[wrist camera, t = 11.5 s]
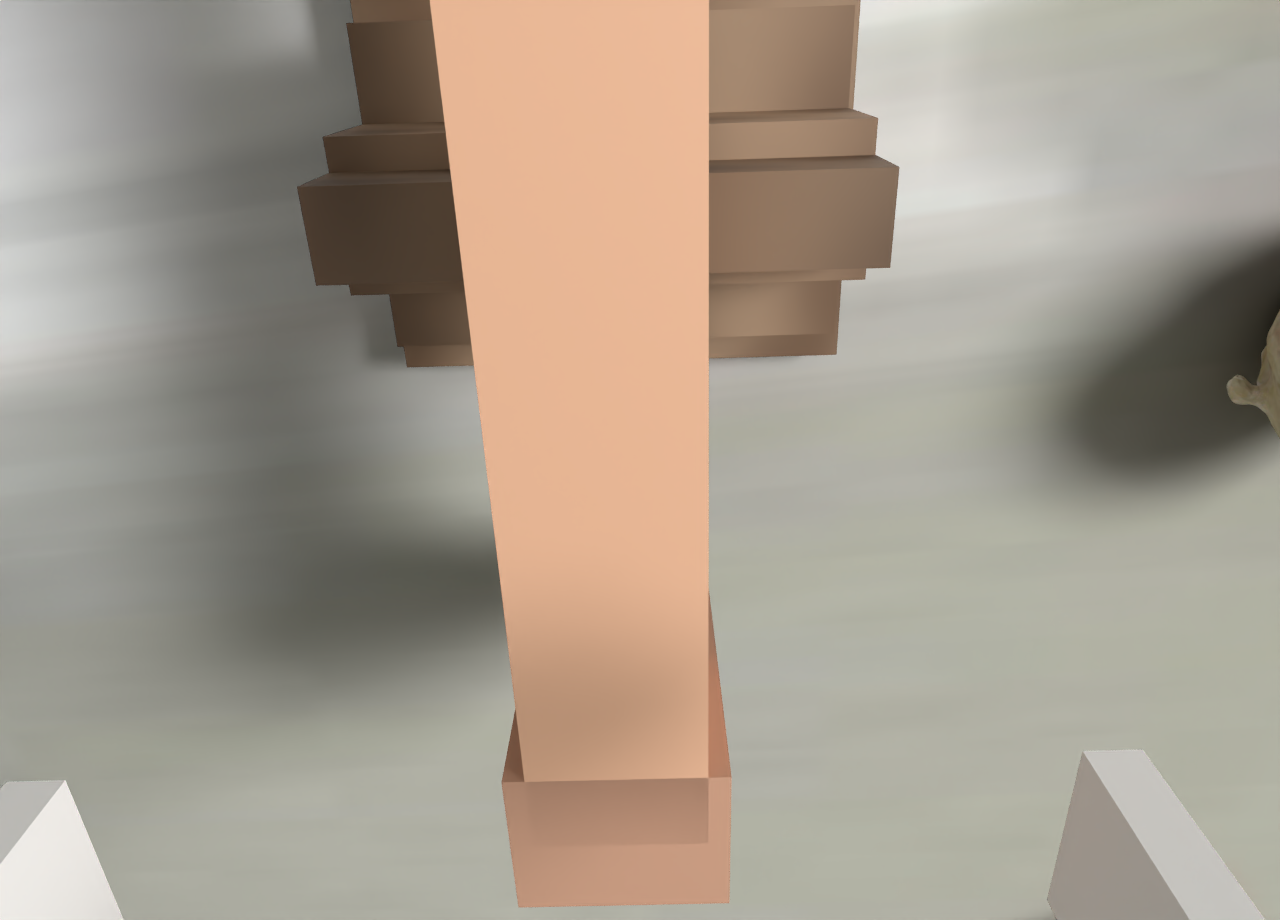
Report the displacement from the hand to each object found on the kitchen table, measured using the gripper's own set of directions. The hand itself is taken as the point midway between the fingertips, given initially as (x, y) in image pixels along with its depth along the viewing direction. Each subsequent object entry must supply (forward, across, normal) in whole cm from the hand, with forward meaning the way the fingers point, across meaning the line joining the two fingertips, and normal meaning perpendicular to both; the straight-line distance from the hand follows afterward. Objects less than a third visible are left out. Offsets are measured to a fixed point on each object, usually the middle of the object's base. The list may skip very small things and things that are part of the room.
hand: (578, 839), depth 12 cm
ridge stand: (+20, 0, -6) cm, 21 cm away
